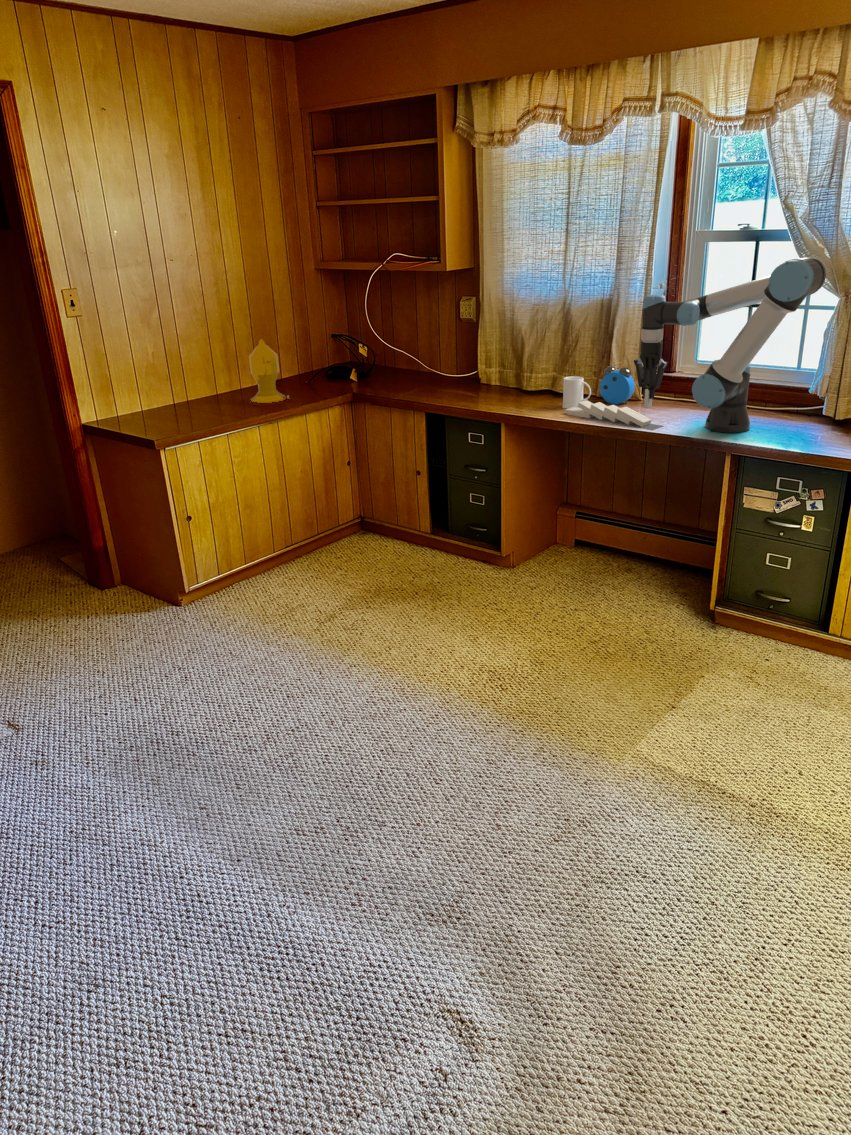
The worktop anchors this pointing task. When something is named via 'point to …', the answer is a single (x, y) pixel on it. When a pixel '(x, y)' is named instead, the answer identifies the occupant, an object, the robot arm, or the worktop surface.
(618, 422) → the mat
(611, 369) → the alarm clock
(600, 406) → the domino
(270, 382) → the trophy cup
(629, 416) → the domino
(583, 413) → the domino
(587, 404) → the domino
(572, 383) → the mug
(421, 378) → the worktop surface
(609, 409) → the domino
